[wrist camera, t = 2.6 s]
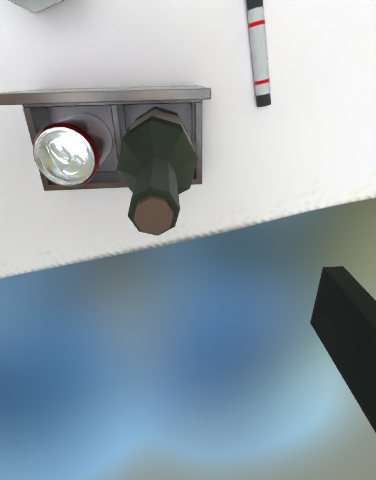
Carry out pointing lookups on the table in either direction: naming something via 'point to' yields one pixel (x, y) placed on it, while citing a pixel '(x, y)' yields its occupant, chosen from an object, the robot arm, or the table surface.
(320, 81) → the table surface
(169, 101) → the divided wooden storage box
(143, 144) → the wine bottle
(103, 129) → the soda can
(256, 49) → the marker
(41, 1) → the milk carton
